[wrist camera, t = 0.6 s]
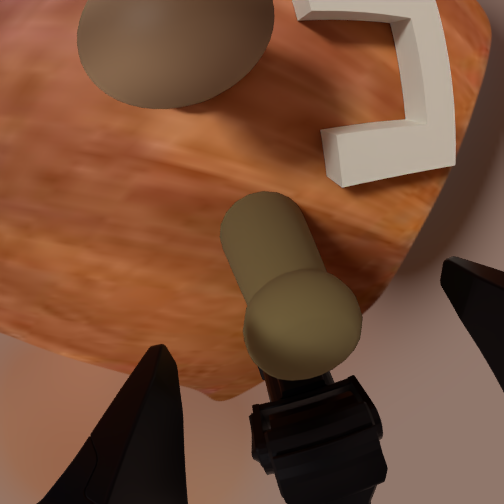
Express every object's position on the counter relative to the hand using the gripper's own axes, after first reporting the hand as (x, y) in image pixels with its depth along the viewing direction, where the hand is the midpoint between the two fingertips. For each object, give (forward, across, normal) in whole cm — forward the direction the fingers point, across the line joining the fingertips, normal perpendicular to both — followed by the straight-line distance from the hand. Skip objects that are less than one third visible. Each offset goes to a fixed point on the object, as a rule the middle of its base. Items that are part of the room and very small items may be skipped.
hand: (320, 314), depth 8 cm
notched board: (+12, -10, -7) cm, 17 cm away
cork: (+12, 0, +3) cm, 13 cm away
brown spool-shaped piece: (+12, +2, -10) cm, 16 cm away
